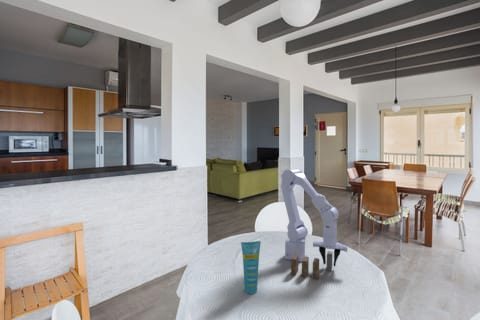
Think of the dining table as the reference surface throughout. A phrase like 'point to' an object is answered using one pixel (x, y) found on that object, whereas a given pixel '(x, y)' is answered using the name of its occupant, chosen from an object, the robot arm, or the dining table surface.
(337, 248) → the robot arm
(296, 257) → the domino
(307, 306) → the dining table surface
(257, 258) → the tube
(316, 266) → the domino
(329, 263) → the domino
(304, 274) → the domino
